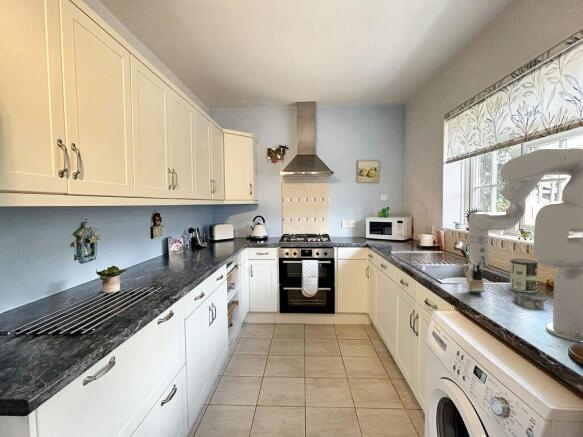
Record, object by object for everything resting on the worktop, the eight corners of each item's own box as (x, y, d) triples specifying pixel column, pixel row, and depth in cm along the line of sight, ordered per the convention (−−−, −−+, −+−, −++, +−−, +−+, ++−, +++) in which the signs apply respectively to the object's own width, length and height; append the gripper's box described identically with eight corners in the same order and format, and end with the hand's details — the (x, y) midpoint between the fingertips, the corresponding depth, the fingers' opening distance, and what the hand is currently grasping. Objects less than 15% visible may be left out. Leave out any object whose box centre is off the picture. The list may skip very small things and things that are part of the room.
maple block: (484, 291, 129) (481, 269, 133) (471, 291, 131) (469, 269, 134) (480, 293, 134) (477, 271, 137) (468, 292, 135) (465, 271, 139)
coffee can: (534, 288, 140) (535, 259, 140) (539, 294, 132) (540, 263, 131) (508, 285, 146) (509, 257, 145) (510, 290, 137) (511, 261, 136)
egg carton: (547, 310, 113) (547, 300, 113) (526, 309, 114) (526, 299, 114) (529, 300, 124) (529, 291, 123) (509, 300, 125) (510, 291, 124)
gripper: (495, 242, 122) (493, 284, 123) (480, 237, 136) (479, 275, 137) (475, 241, 123) (474, 283, 125) (463, 237, 138) (462, 275, 139)
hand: (477, 279), depth 131 cm, fingers closed
